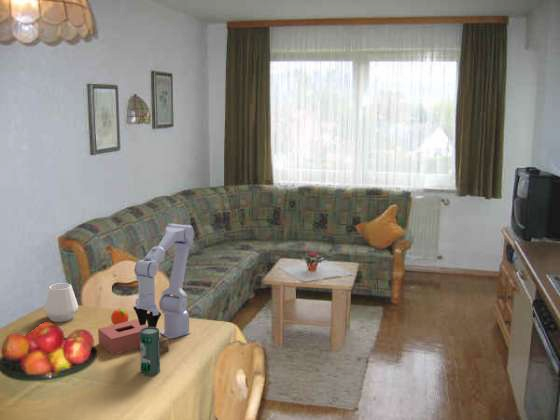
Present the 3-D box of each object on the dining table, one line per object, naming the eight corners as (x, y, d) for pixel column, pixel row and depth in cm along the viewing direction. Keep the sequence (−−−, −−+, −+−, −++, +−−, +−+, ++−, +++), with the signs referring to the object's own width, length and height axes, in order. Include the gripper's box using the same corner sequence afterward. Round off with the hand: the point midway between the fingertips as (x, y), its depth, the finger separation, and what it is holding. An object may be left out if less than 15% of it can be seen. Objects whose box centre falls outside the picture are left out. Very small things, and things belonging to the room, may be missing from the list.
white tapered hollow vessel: (71, 324, 232) (70, 291, 229) (39, 323, 232) (37, 290, 229) (83, 312, 245) (81, 281, 242) (52, 311, 245) (50, 280, 242)
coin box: (137, 333, 224) (137, 319, 223) (152, 343, 215) (151, 328, 214) (98, 343, 214) (98, 328, 213) (112, 354, 205) (111, 339, 204)
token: (165, 349, 210) (165, 337, 209) (168, 351, 209) (168, 339, 208) (153, 353, 207) (153, 340, 206) (156, 355, 206) (156, 342, 205)
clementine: (134, 325, 232) (133, 309, 231) (121, 330, 226) (120, 314, 225) (120, 321, 236) (120, 304, 235) (107, 326, 231) (107, 309, 229)
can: (140, 369, 195) (138, 328, 192) (157, 366, 197) (156, 325, 194) (143, 377, 189) (142, 335, 186) (161, 374, 192) (160, 332, 189)
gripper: (127, 289, 206) (128, 324, 209) (145, 300, 195) (146, 337, 198) (145, 285, 211) (146, 319, 213) (163, 296, 200) (164, 332, 202)
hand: (147, 328), depth 206 cm, fingers open, 7 cm apart
